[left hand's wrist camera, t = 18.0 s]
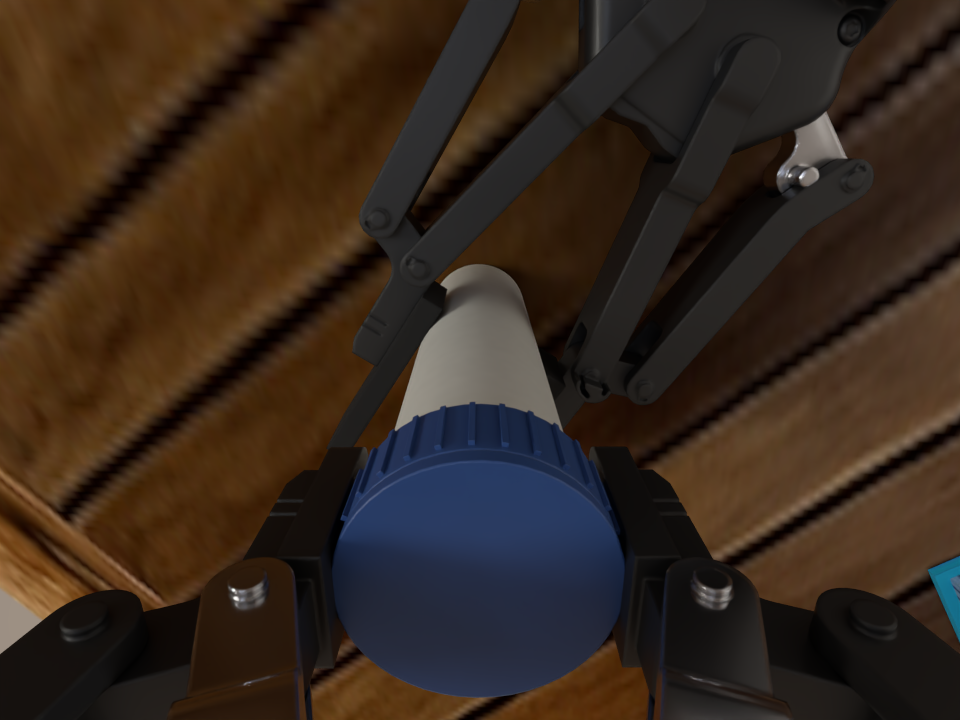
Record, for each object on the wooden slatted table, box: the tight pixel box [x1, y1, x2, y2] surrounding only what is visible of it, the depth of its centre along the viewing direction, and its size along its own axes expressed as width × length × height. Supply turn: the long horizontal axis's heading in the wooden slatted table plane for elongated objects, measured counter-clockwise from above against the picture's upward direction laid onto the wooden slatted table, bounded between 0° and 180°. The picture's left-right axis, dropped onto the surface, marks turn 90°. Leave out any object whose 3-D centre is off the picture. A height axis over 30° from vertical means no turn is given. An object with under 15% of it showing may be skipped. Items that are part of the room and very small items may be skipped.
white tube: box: [395, 264, 563, 432], centre depth 18 cm, size 4×4×17 cm
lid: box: [332, 402, 625, 698], centre depth 10 cm, size 5×5×2 cm
